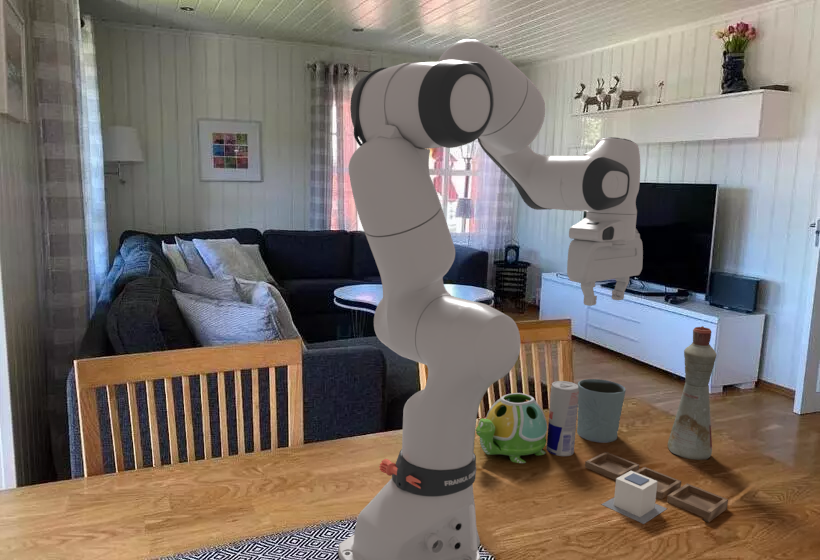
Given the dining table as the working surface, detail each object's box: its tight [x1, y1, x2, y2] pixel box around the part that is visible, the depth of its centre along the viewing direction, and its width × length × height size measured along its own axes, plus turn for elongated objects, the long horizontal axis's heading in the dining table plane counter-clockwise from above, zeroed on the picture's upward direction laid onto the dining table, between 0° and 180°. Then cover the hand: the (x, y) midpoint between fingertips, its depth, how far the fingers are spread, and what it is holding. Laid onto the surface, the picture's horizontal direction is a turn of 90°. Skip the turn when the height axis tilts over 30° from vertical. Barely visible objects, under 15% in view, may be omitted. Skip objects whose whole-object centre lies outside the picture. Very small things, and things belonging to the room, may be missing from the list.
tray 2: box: [636, 466, 682, 500], centre depth 119 cm, size 7×7×2 cm
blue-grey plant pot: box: [576, 378, 627, 444], centre depth 141 cm, size 10×10×12 cm
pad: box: [601, 497, 668, 525], centre depth 111 cm, size 8×8×1 cm
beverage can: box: [546, 380, 579, 457], centre depth 132 cm, size 6×6×15 cm
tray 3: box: [666, 483, 729, 523], centre depth 113 cm, size 7×7×2 cm
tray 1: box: [584, 451, 640, 481], centre depth 125 cm, size 7×7×2 cm
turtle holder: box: [475, 392, 548, 464], centre depth 130 cm, size 12×18×12 cm
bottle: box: [667, 325, 717, 461], centre depth 133 cm, size 9×9×28 cm
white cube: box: [614, 471, 658, 517], centre depth 110 cm, size 5×5×5 cm
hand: (603, 302), depth 119 cm, fingers open, 8 cm apart
